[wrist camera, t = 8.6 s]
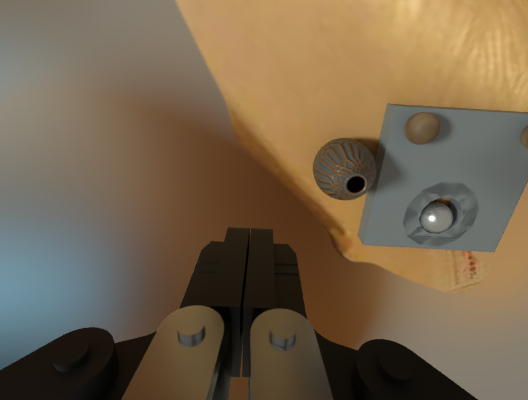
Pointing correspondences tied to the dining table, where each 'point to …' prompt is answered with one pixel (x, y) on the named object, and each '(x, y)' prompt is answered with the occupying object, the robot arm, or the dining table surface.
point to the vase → (344, 169)
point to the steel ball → (436, 217)
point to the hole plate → (446, 179)
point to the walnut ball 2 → (524, 137)
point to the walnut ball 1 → (422, 128)
